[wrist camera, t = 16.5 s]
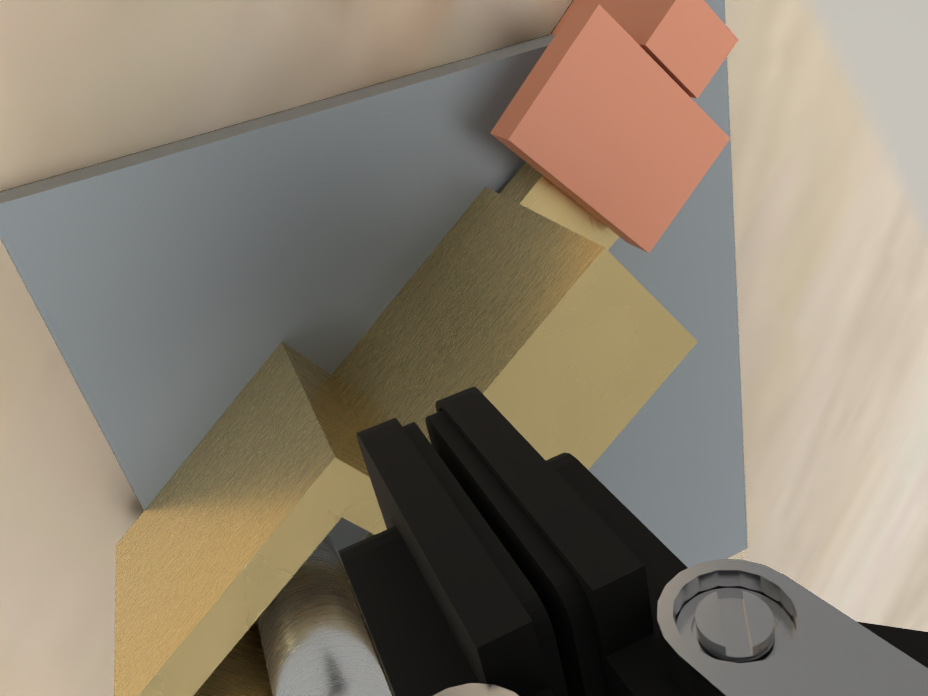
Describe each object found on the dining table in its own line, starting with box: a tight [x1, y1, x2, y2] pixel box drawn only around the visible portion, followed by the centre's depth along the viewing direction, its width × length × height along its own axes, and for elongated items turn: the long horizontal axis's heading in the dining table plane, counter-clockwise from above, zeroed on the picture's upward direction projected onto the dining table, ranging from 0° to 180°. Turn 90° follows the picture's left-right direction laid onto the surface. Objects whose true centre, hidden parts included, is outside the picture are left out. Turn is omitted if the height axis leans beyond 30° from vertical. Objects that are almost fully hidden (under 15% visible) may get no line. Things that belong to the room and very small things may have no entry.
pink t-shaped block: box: [490, 0, 738, 253], centre depth 20 cm, size 5×5×5 cm
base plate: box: [0, 0, 748, 568], centre depth 24 cm, size 20×19×2 cm
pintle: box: [257, 533, 392, 696], centre depth 20 cm, size 2×2×8 cm
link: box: [114, 162, 698, 696], centre depth 19 cm, size 18×7×6 cm, turn 136°
